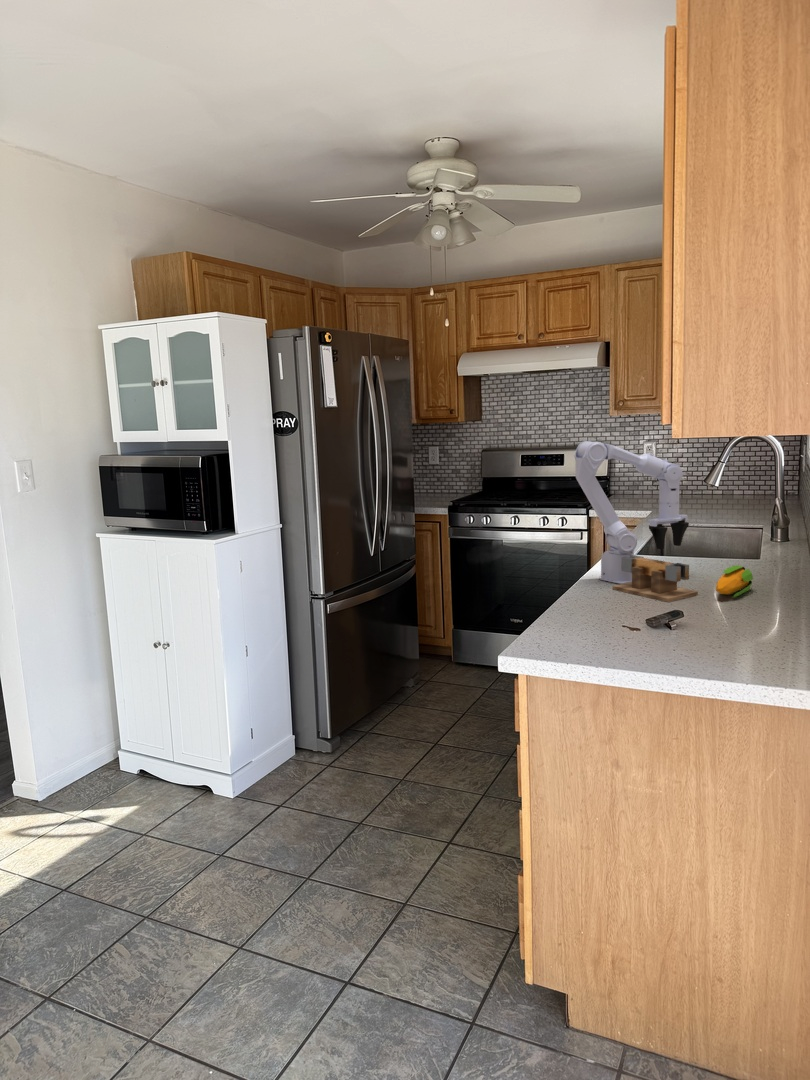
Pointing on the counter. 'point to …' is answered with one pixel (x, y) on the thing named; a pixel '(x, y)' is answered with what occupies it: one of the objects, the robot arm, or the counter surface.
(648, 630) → the counter surface
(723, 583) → the corn
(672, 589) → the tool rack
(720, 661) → the counter surface
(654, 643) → the counter surface
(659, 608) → the counter surface
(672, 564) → the spanner
